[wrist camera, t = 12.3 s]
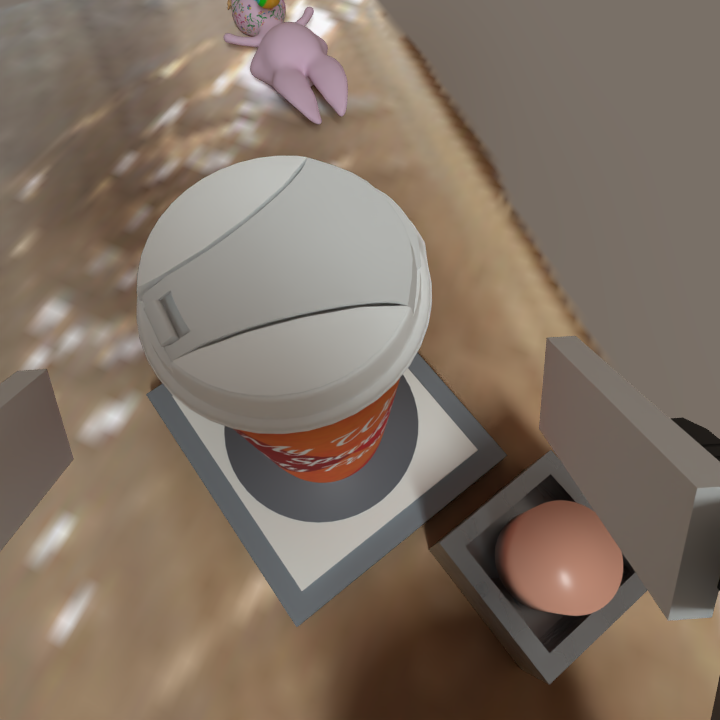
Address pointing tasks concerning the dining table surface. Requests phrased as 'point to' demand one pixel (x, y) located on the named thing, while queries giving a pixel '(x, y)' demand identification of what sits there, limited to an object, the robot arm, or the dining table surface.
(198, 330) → the paper cup
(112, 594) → the dining table surface
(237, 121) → the dining table surface
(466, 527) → the button housing
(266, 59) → the pink unicorn toy
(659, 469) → the robot arm
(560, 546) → the button
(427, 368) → the board
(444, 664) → the dining table surface
